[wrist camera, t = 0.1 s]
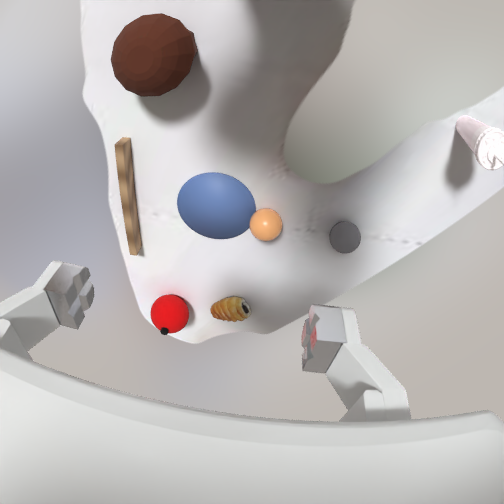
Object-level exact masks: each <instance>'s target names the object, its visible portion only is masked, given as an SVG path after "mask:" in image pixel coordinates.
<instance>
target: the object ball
mask: <svg viewBox="0 0 504 504" xmlns="http://www.w3.org/2000/svg"><path fill="white" fill-rule="evenodd" d="M250 230H251V232H252V234H253V235H254V236H255V237H256V238H257V239H259V240H262V241H270V240H273V239H275V238H276V237H277V236H278V235H279V234H280V232H281V230H282V220H281V217H280V216H279V214H278V213H277V212H276V211H274V210H272V209H268V208H263V209H260V210H258V211H256V212H255V213H254V214H253V215H252V217H251V219H250Z"/></svg>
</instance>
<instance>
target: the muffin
mask: <svg viewBox="0 0 504 504" xmlns="http://www.w3.org/2000/svg"><path fill="white" fill-rule="evenodd" d="M197 51H198V49H197V46H196V44H195V40H194V33H193V32H191V31H189V30H188V29H186V28H185V26H184V25H183V24H182V23H181V21H180V20H178V19H175V18H173V17H170V16H167V15H165V14H162V13H161V14H152V15H143V16H141V17H139V18H137V19H136V20H134V21H133V22H131V23H129V24H128V25H126V26H125V27H124V29H123V30H122V31H121V33H120V34H119V36H118V37H117V39H116V40H115V42H114V46H113V51H112V56H111V62H112V67H113V71H114V75H115V77H116V78H117V80H118V81H119V82H120V83H121V84H122V86H123V87H124V88H125V89H126V90H128V91H130V92H132V93H135V94H137V95H139V96H160V95H162V94H164V93H166V92H168V91H170V90H172V89H174V88H176V87H177V86H178V85H179V84H180V83H181V82H182V80H183V79H184V78H185V77H186V76H187V75H188V73H189V72H190V68H191V65H192V61H193V58H194V56H195V54H196V52H197Z"/></svg>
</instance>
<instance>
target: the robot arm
mask: <svg viewBox="0 0 504 504" xmlns="http://www.w3.org/2000/svg"><path fill="white" fill-rule="evenodd" d="M89 277H90V272H89V269H88V268H86V267H83V266H78V265H74V264H71V263H66V262H61V261H57V260H55V261H52V262H51V263H50V265H49V266H48V267H47V269H46V270H45V271H44V273H43V274H42V275H41V276H40V278H39V279H38V280H37V282H36V283H35V284H34V286H33V287H28V288H26V289H24V290H22V291H20V292H18V293H17V294H15V295H13V296H11V297H9V298H7V299H6V300H4V301H2V302H0V504H504V422H503V421H502V420H501V419H500V418H499V417H498V416H497V415H496V414H495V413H493V412H492V411H489V410H483V411H477V412H471V413H464V414H458V415H450V416H442V417H434V418H424V419H412V420H411V415H410V410H409V404H408V399H407V395H406V391H405V388H404V387H403V386H402V385H401V384H400V383H399V382H398V381H397V379H396V378H395V377H394V376H393V375H392V374H391V373H390V372H389V370H388V369H387V368H386V367H385V366H384V365H383V364H382V362H381V361H380V360H379V359H378V358H377V357H376V356H375V355H374V354H373V353H372V351H371V350H370V349H369V348H368V347H367V346H366V345H362V342H361V338H360V332H359V327H358V323H357V318H356V313H355V310H354V309H353V308H344V307H334V306H325V305H317V304H312V306H311V307H310V310H309V318H308V319H307V320H305V324H304V326H303V332H302V346H303V347H304V349H305V350H304V352H303V355H302V368H303V371H308V372H316V373H326V374H325V375H326V376H327V378H328V380H329V381H330V383H331V384H332V386H333V387H334V389H335V391H336V392H337V394H338V395H339V397H340V398H341V400H342V401H343V403H344V405H345V406H346V408H347V409H348V412H347V413H346V414H345V415H344V417H342V418H341V420H340V421H339V422H323V421H301V420H286V419H273V418H263V417H254V416H246V415H238V414H230V413H223V412H217V411H210V410H205V409H199V408H193V407H188V406H183V405H178V404H173V403H168V402H163V401H159V400H155V399H151V398H146V397H142V396H138V395H134V394H130V393H127V392H123V391H119V390H116V389H112V388H109V387H105V386H102V385H98V384H95V383H92V382H89V381H86V380H83V379H79V378H77V377H74V376H71V375H68V374H65V373H63V372H60V371H57V370H54V369H52V368H49V367H46V366H44V365H41V364H39V363H36V362H34V361H33V359H32V358H31V356H30V355H29V353H28V352H27V351H29V350H30V349H31V348H32V347H33V346H35V345H36V344H37V343H39V342H40V341H41V340H43V339H44V338H45V337H46V336H48V335H49V334H50V333H51V332H53V331H54V330H55V329H57V328H58V327H59V326H60V325H63V326H67V327H70V328H74V329H78V328H79V326H80V324H81V323H82V321H83V319H84V317H85V316H84V311H85V310H87V309H88V308H90V306H91V304H92V302H93V298H94V287H93V284H92V283H91V282H90V281H89Z"/></svg>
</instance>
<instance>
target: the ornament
mask: <svg viewBox="0 0 504 504" xmlns="http://www.w3.org/2000/svg"><path fill="white" fill-rule="evenodd" d="M188 318H189V310H188V307H187V305H186V303H185V302H184V301H183V300H182V299H181V298H179V297H177V296H175V295H164V296H161V297H159V298H158V299H157V300H156V301H155V302H154V303H153V305H152V308H151V319H152V322H153V324H154V325H155V326H156V327H157V328H158V329H159V330H160V332H161V334H163V335H167V334H168V333H176V332H178V331H180V330H182V329H183V328H184V327H185V325H186V324H187V322H188Z"/></svg>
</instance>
